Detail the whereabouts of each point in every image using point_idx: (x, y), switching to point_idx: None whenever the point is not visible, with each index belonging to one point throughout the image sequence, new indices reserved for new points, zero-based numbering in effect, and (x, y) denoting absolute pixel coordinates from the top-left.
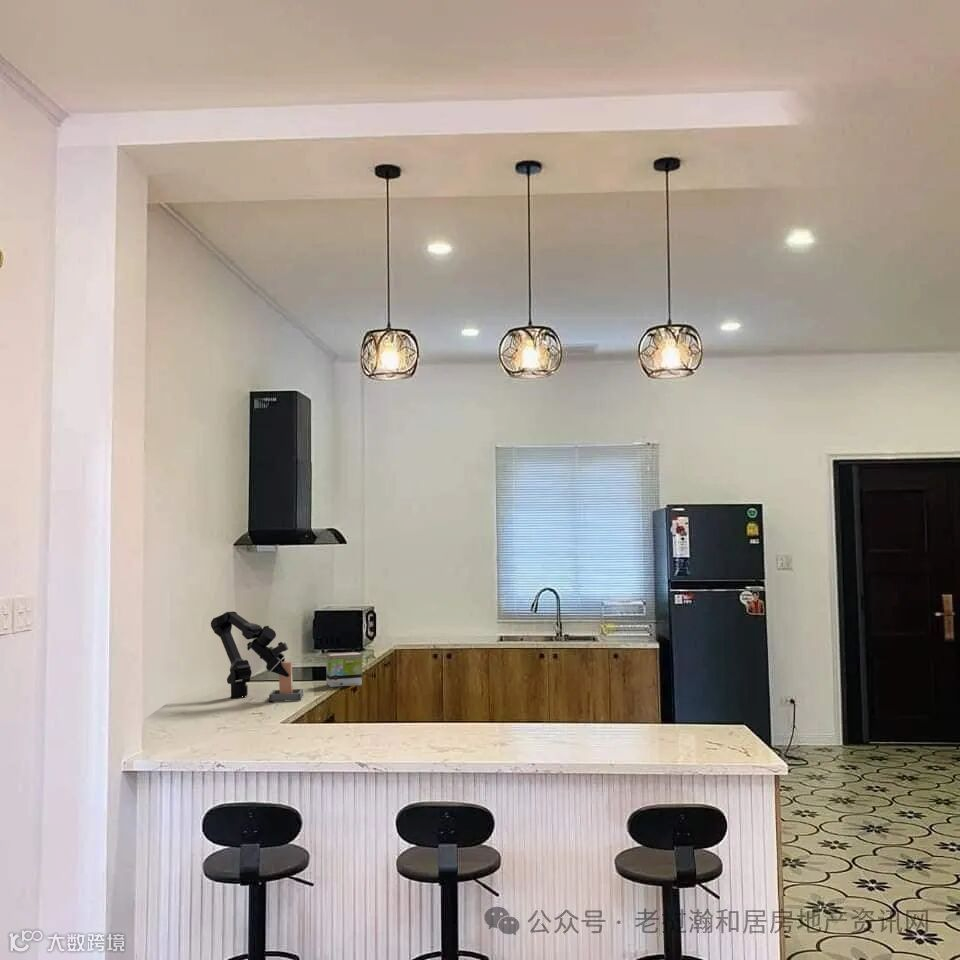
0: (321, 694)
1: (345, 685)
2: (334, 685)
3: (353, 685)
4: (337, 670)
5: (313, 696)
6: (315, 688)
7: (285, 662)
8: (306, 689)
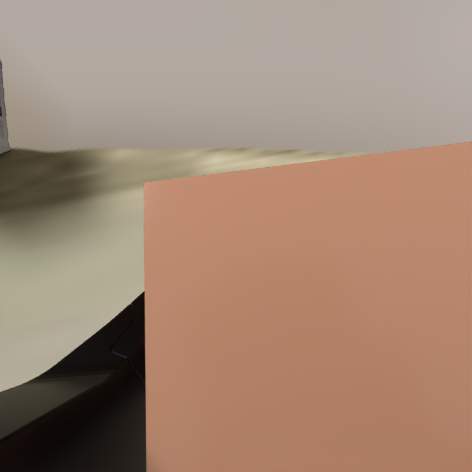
0: (173, 154)
1: (3, 101)
2: (3, 133)
3: (2, 81)
4: None
5: None
6: (3, 208)
7: (412, 286)
8: (13, 243)
